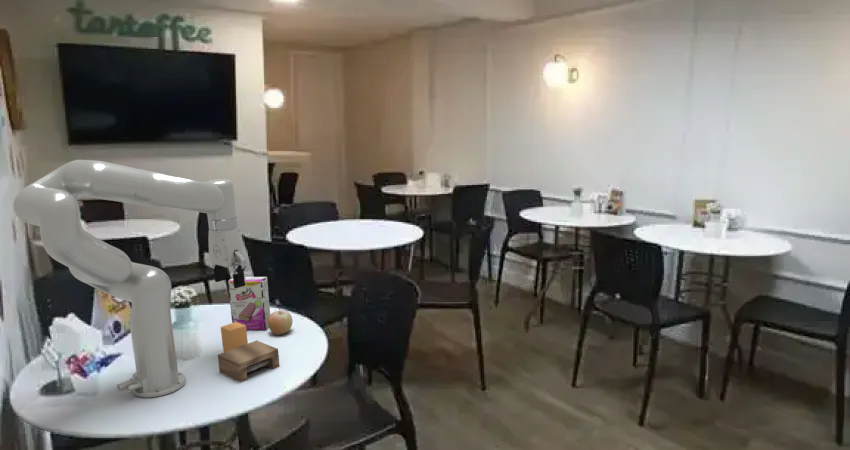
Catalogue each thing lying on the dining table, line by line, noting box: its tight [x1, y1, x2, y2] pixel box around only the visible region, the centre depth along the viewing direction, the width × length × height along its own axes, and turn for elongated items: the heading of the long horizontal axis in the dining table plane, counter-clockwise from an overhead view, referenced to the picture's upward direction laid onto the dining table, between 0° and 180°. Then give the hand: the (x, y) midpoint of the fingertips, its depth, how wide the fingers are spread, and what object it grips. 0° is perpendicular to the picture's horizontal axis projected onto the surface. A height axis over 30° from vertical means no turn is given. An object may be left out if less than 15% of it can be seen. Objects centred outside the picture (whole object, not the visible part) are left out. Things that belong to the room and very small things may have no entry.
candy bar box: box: [227, 276, 271, 331], centre depth 192 cm, size 11×5×16 cm, turn 84°
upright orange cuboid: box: [220, 322, 249, 353], centre depth 174 cm, size 5×5×8 cm
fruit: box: [268, 307, 293, 336], centre depth 188 cm, size 8×7×8 cm
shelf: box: [217, 340, 281, 383], centre depth 163 cm, size 12×10×5 cm
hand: (229, 283), depth 171 cm, fingers open, 9 cm apart
